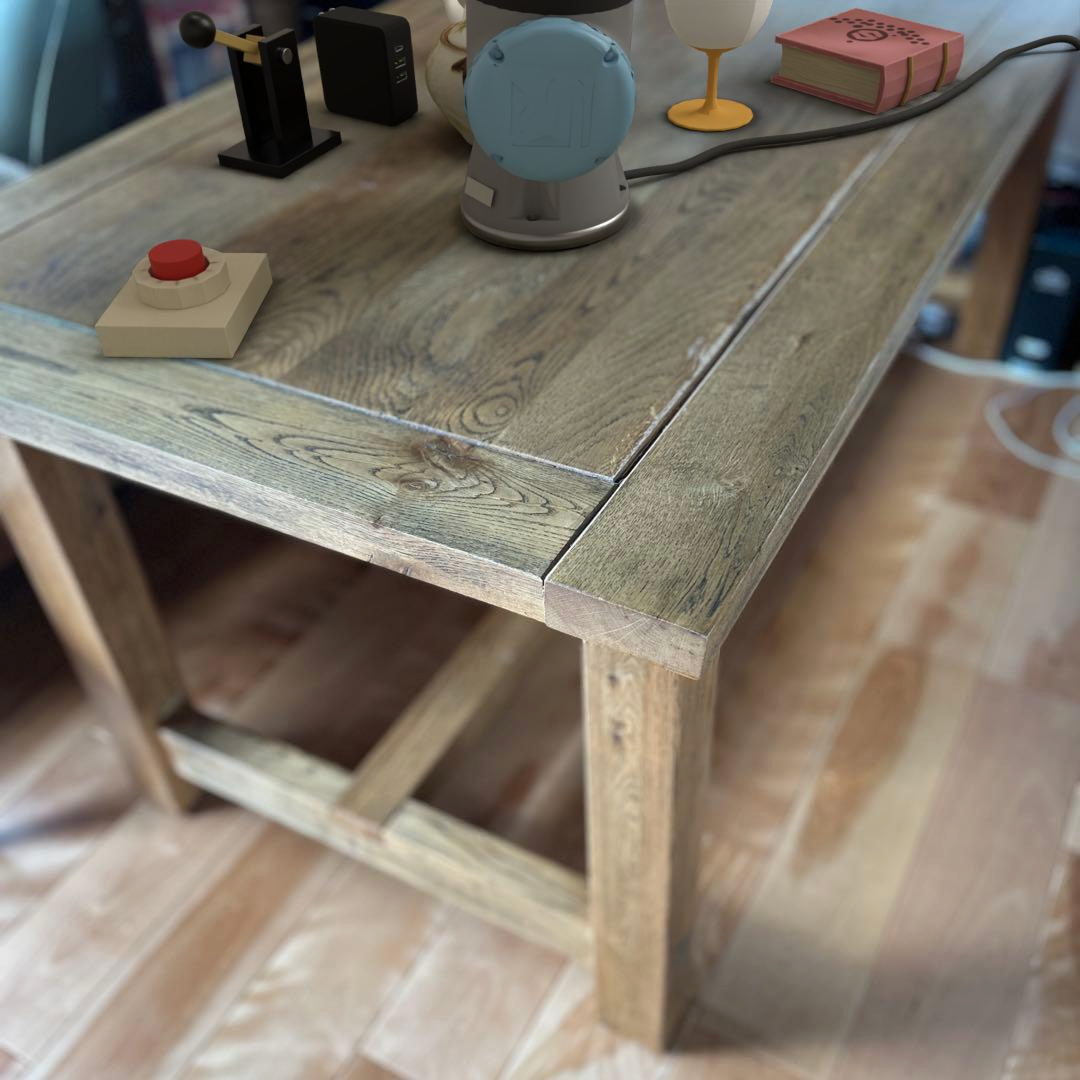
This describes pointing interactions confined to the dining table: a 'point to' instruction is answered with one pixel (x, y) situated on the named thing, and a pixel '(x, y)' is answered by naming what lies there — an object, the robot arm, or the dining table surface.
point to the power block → (186, 309)
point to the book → (868, 59)
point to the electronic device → (366, 64)
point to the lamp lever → (216, 36)
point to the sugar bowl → (450, 77)
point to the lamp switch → (273, 110)
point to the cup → (714, 54)
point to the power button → (177, 260)
